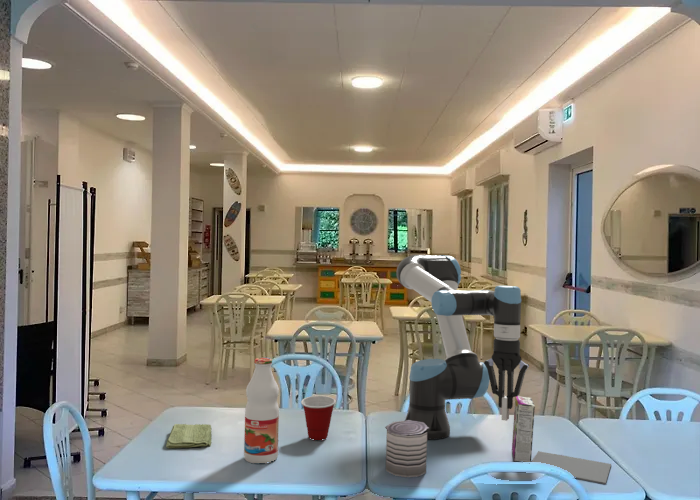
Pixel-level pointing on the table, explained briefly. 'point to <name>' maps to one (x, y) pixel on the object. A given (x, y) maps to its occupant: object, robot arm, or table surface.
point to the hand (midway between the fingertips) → (505, 419)
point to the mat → (576, 466)
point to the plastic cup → (318, 415)
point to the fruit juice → (261, 415)
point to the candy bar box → (523, 429)
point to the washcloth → (189, 436)
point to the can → (406, 448)
